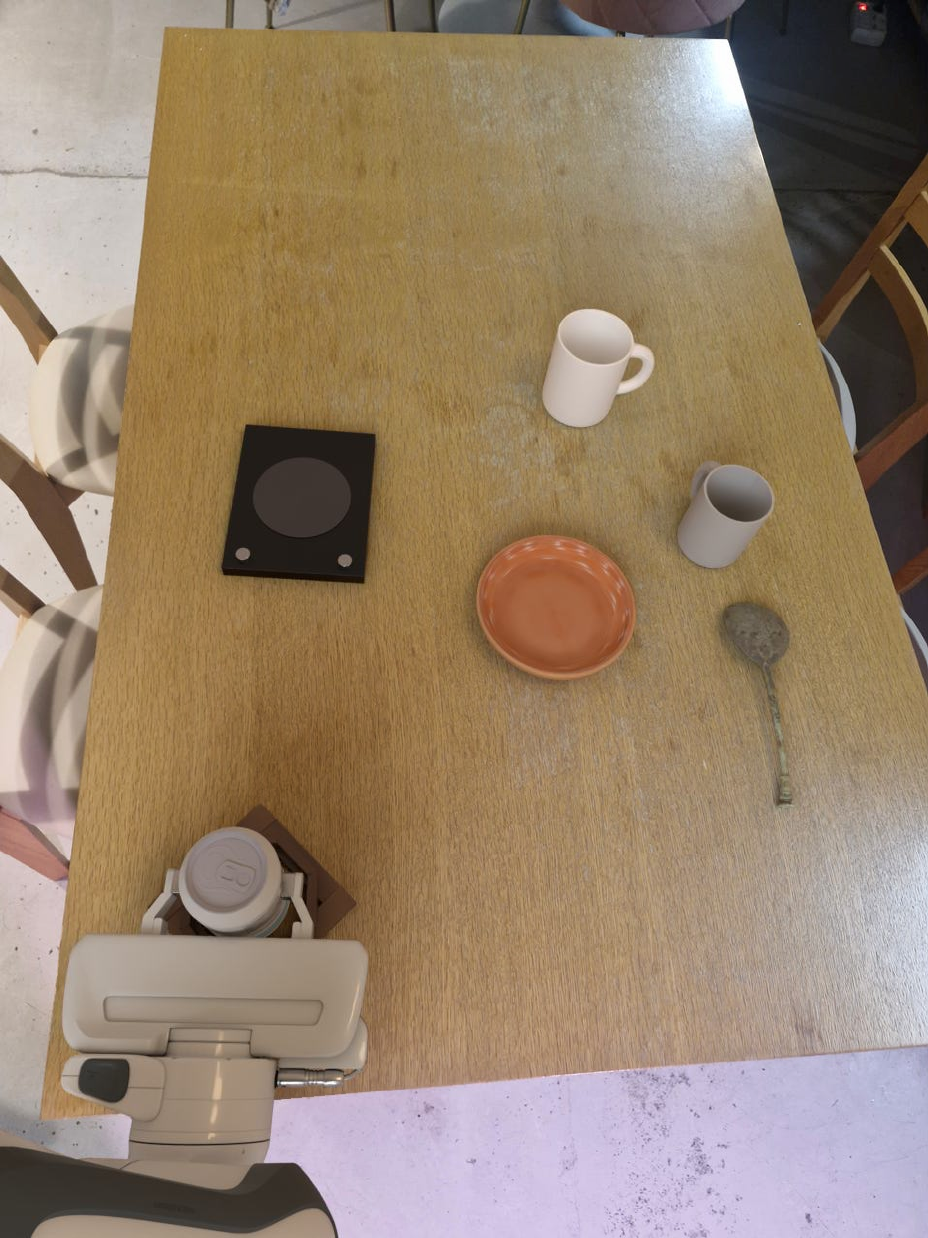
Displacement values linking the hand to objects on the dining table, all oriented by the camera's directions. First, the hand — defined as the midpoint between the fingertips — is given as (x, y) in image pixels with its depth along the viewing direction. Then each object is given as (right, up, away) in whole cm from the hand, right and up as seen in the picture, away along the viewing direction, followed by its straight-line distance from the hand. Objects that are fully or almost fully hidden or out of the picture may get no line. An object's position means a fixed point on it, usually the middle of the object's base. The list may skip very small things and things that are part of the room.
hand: (236, 871), depth 62 cm
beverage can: (-1, -4, +6) cm, 7 cm away
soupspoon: (+46, +10, +22) cm, 52 cm away
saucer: (+26, +19, +24) cm, 40 cm away
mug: (+32, +44, +37) cm, 66 cm away
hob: (0, +31, +27) cm, 41 cm away
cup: (+43, +28, +31) cm, 60 cm away
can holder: (-1, -5, +8) cm, 10 cm away
